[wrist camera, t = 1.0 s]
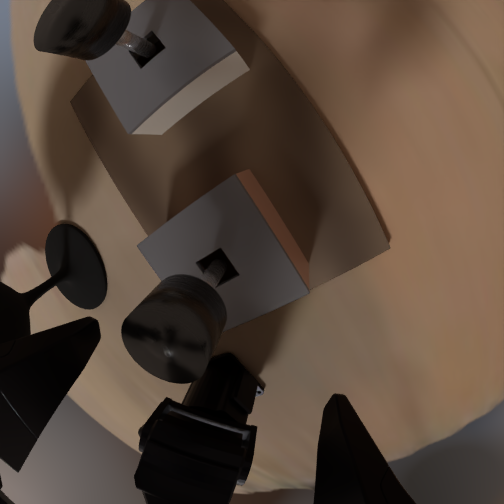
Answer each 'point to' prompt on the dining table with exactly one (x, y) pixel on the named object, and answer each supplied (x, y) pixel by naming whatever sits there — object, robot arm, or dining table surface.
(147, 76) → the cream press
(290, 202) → the walnut board
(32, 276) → the dining table surface
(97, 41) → the black plunger
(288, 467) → the dining table surface
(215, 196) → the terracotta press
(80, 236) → the wine glass
